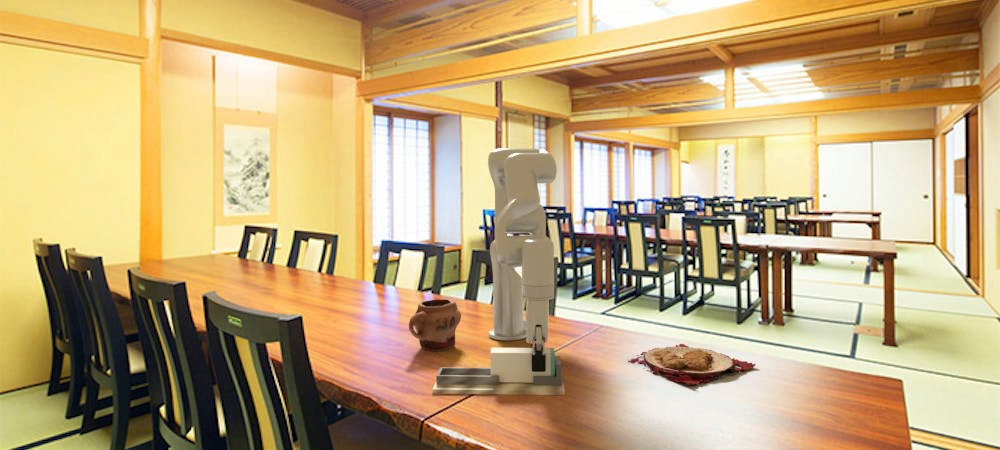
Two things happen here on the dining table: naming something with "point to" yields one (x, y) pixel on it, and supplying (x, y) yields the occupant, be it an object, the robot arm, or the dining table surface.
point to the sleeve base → (485, 383)
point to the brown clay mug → (435, 324)
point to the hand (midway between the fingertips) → (538, 365)
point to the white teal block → (518, 364)
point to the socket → (550, 380)
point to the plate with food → (690, 363)
